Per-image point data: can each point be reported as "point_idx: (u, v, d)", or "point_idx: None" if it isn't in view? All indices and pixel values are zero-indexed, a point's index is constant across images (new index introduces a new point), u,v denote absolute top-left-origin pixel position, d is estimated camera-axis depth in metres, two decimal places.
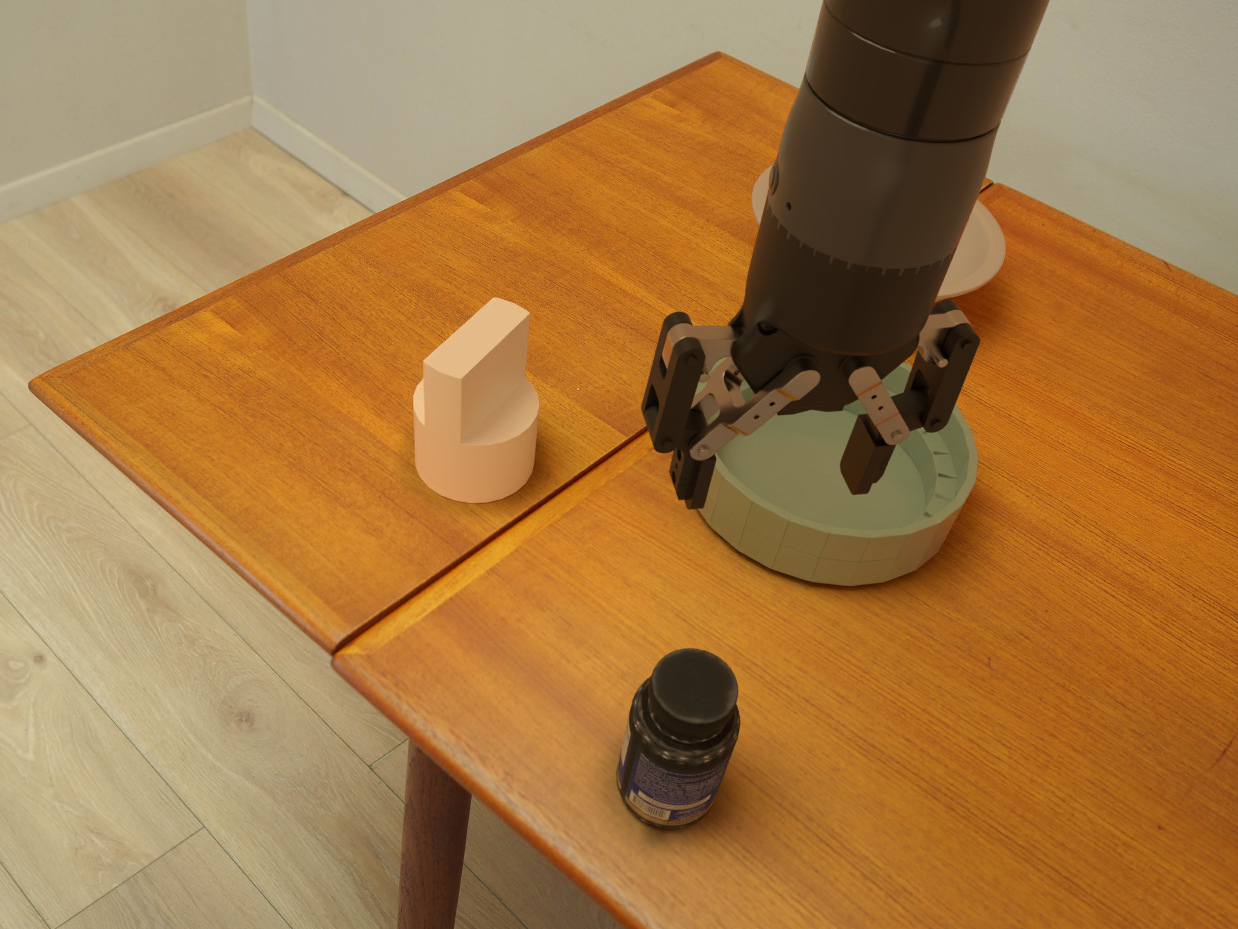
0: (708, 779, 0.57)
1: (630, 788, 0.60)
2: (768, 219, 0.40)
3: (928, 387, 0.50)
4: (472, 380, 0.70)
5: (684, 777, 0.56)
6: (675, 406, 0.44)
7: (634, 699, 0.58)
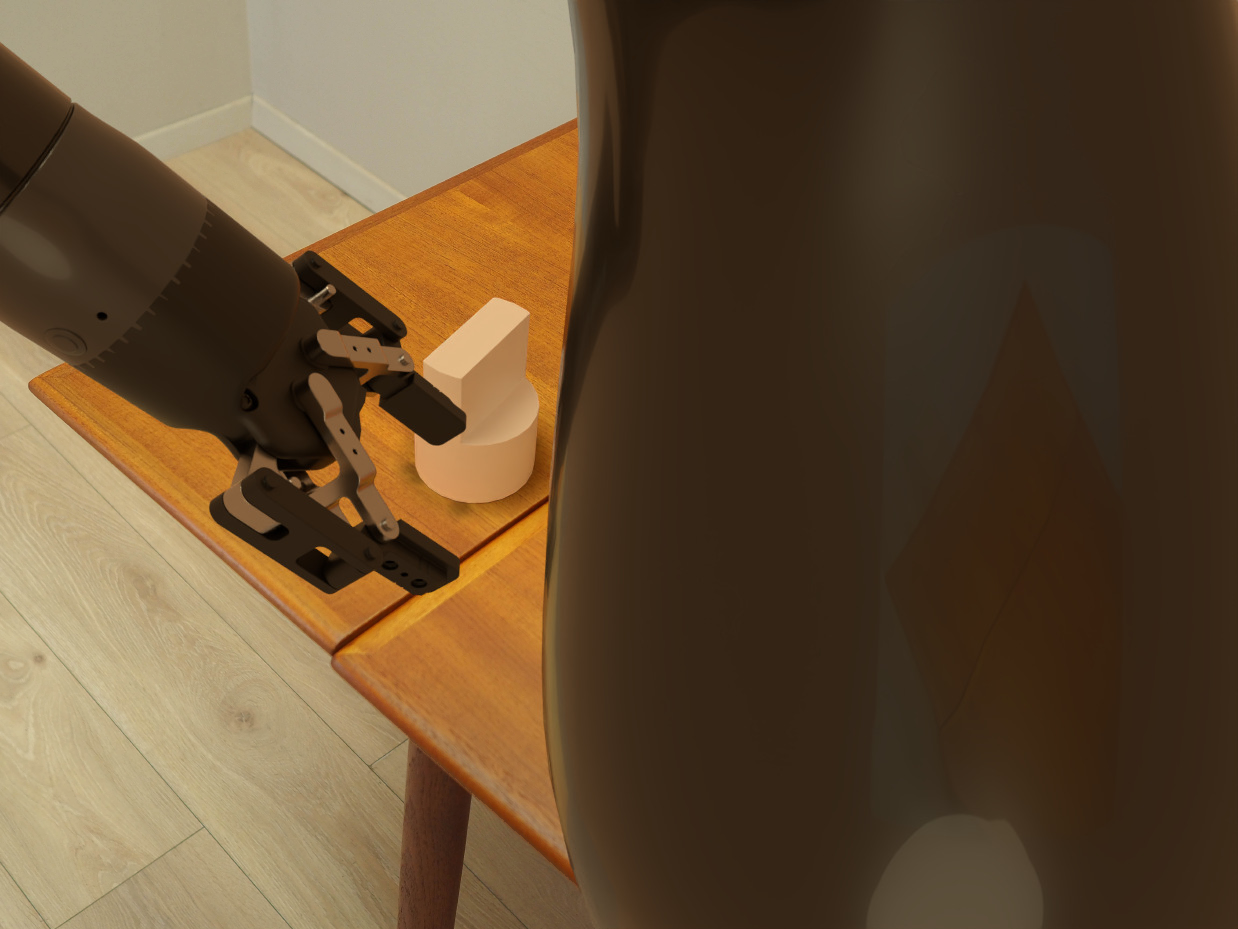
0: None
1: None
2: (115, 359, 0.35)
3: (360, 335, 0.48)
4: (472, 380, 0.70)
5: None
6: (324, 523, 0.37)
7: None
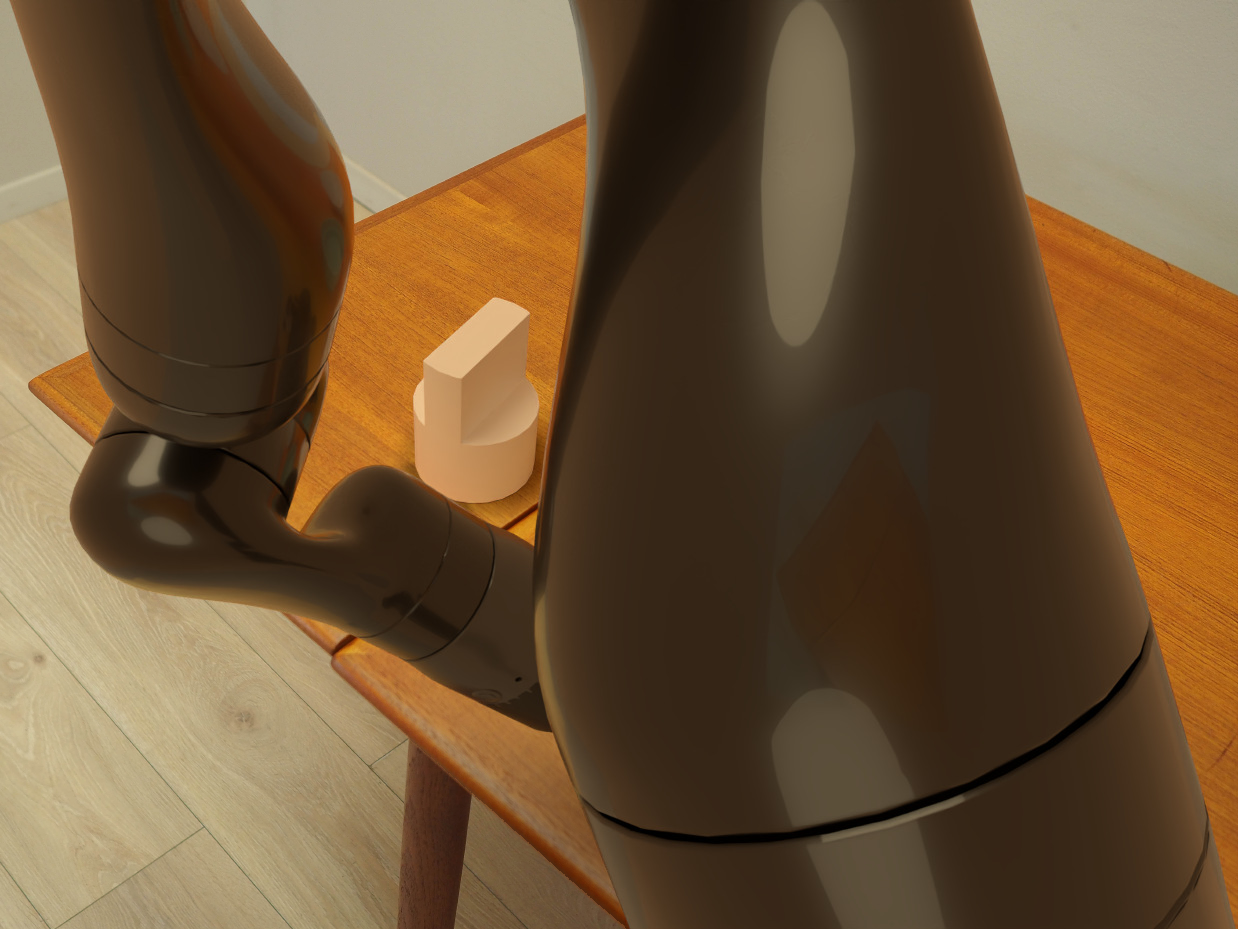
0: None
1: None
2: (519, 702, 0.47)
3: None
4: (472, 380, 0.70)
5: None
6: None
7: None
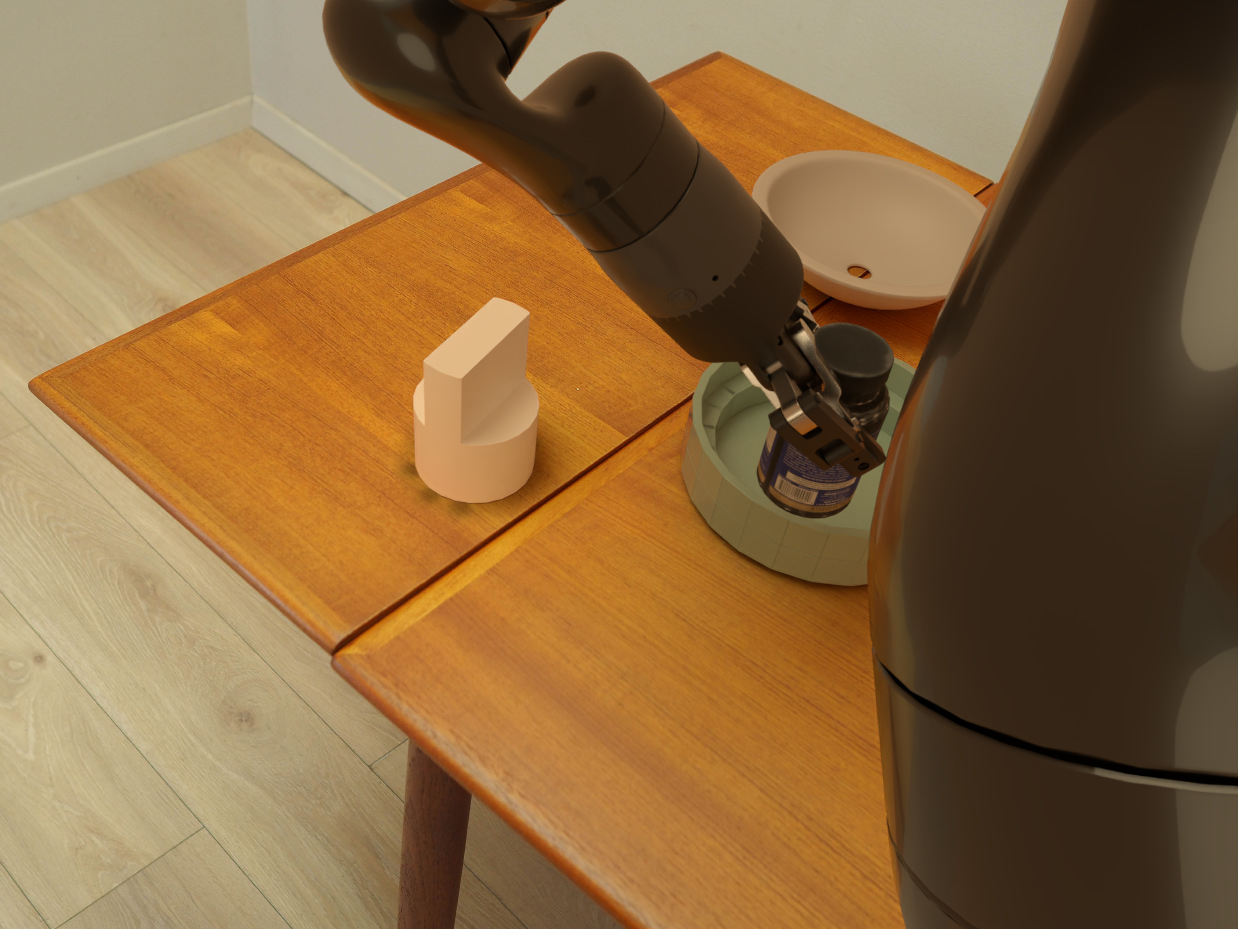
0: None
1: (778, 472, 0.62)
2: (711, 310, 0.49)
3: None
4: (472, 380, 0.70)
5: None
6: (840, 422, 0.53)
7: None
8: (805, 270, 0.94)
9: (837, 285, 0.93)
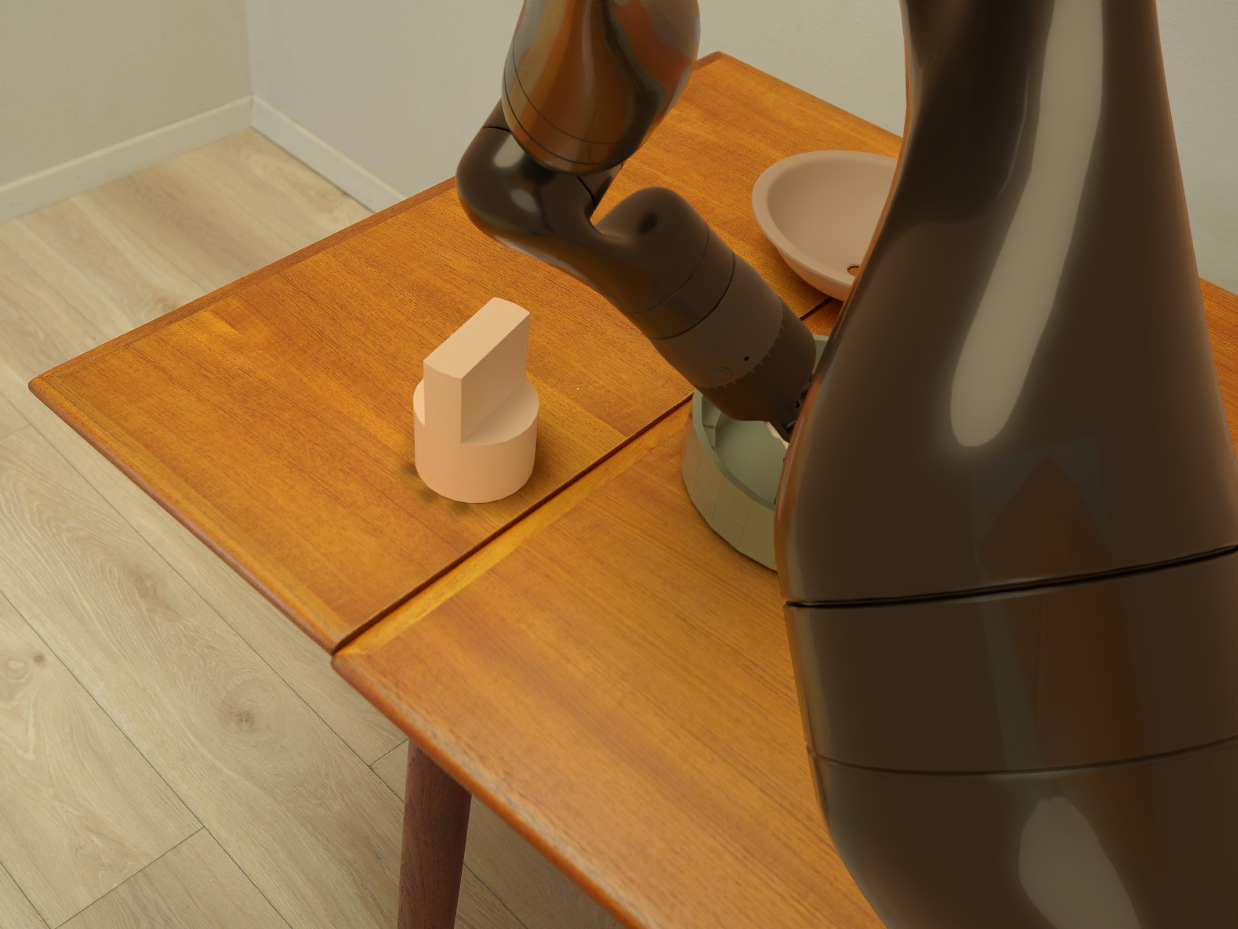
0: None
1: None
2: (742, 382, 0.62)
3: None
4: (472, 380, 0.70)
5: None
6: None
7: None
8: (805, 270, 0.94)
9: (837, 285, 0.93)
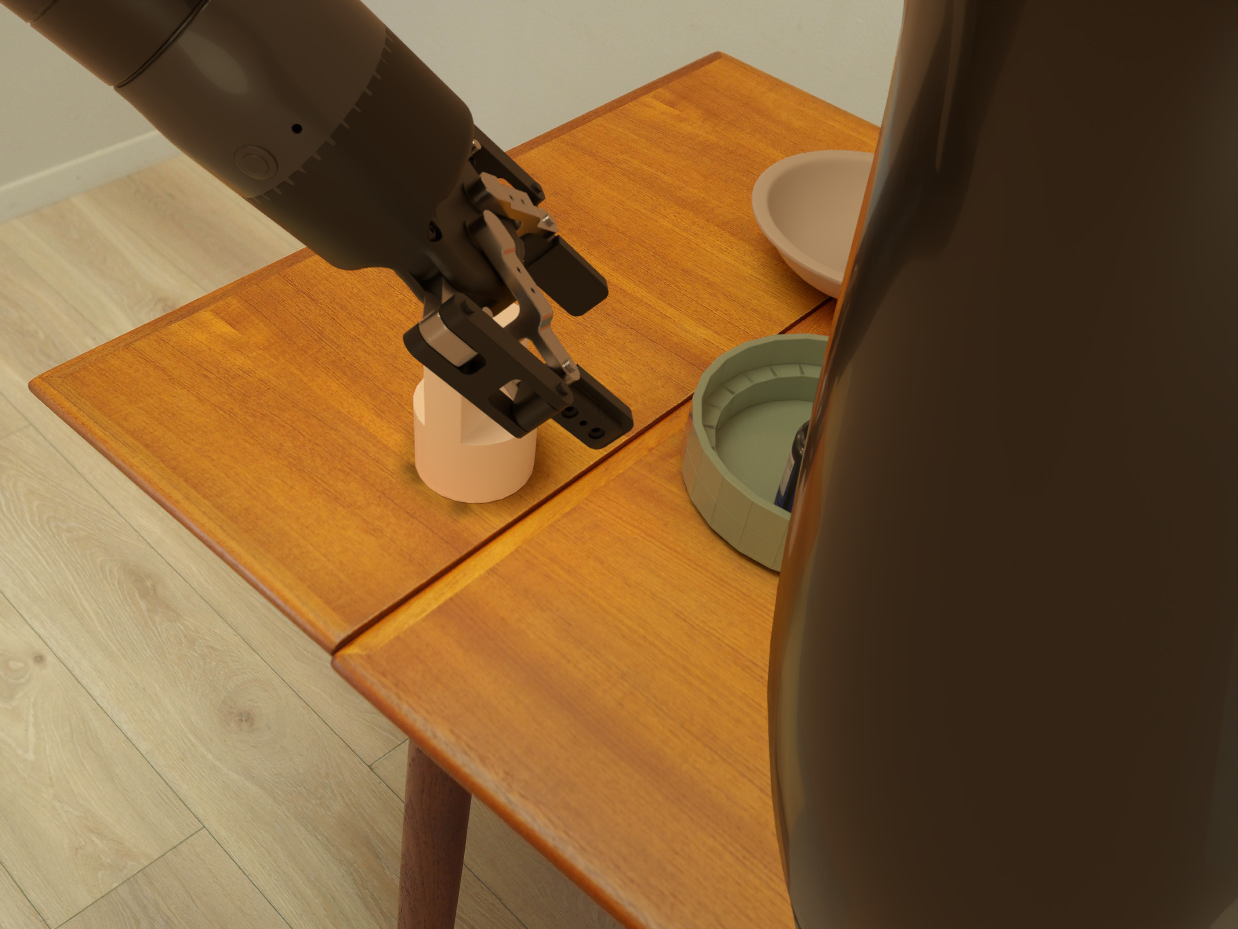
0: None
1: None
2: (306, 181, 0.33)
3: None
4: None
5: None
6: (519, 354, 0.36)
7: (797, 435, 0.73)
8: (805, 270, 0.94)
9: (837, 285, 0.93)
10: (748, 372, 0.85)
